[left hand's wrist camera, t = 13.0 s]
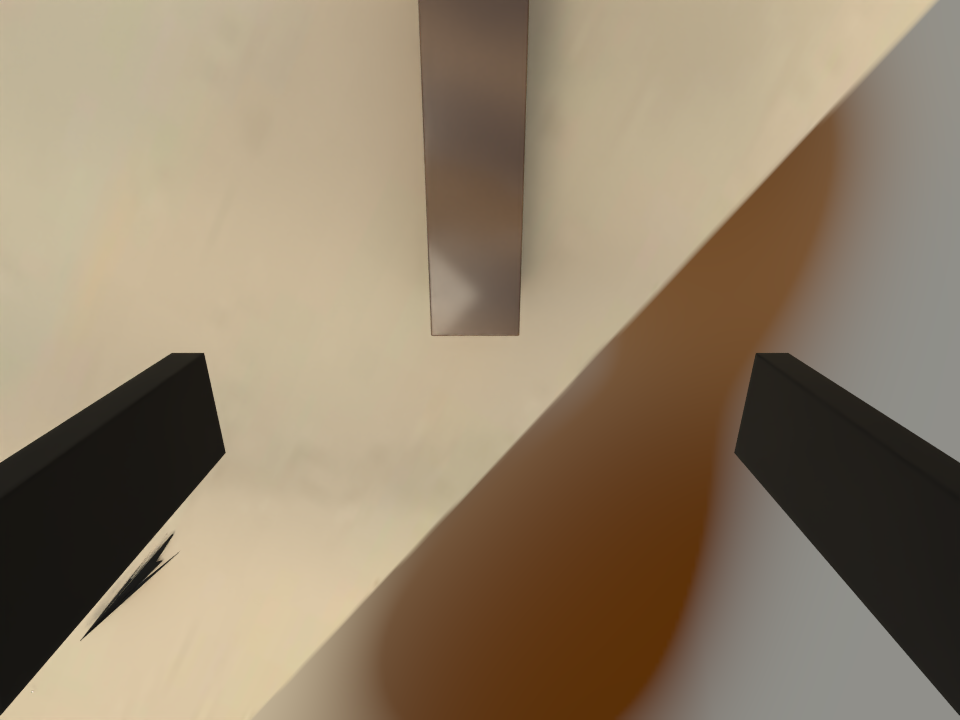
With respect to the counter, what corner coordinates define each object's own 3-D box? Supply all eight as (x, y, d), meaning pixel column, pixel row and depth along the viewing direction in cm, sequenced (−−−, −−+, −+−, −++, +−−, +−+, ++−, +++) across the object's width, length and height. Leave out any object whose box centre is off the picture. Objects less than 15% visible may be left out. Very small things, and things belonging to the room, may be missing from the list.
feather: (40, 677, 53) (17, 688, 51) (181, 526, 44) (159, 534, 43) (47, 692, 52) (24, 704, 50) (190, 543, 44) (169, 551, 42)
